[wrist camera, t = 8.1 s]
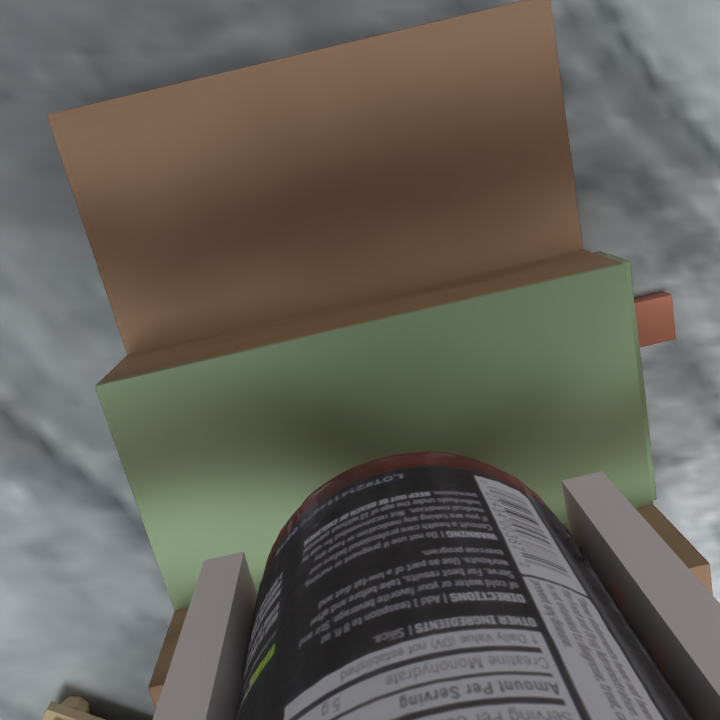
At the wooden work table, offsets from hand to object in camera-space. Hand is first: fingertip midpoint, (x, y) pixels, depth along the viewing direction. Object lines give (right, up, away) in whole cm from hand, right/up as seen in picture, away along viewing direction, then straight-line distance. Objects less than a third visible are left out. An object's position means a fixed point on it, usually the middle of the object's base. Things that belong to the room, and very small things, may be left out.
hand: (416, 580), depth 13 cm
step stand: (+1, +4, +12) cm, 12 cm away
